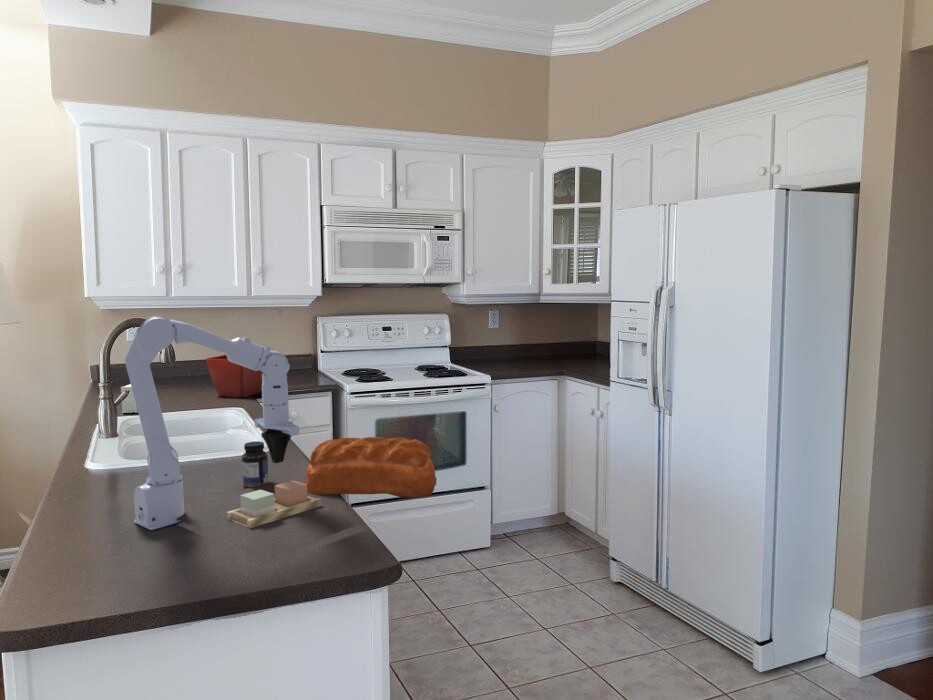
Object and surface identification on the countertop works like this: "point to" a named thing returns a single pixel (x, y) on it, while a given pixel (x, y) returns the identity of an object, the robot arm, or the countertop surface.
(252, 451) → the pill bottle
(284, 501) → the terracotta brick
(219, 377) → the plant pot
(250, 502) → the two tone brick
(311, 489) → the bread
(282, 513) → the socket board
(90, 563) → the countertop surface
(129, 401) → the small box
